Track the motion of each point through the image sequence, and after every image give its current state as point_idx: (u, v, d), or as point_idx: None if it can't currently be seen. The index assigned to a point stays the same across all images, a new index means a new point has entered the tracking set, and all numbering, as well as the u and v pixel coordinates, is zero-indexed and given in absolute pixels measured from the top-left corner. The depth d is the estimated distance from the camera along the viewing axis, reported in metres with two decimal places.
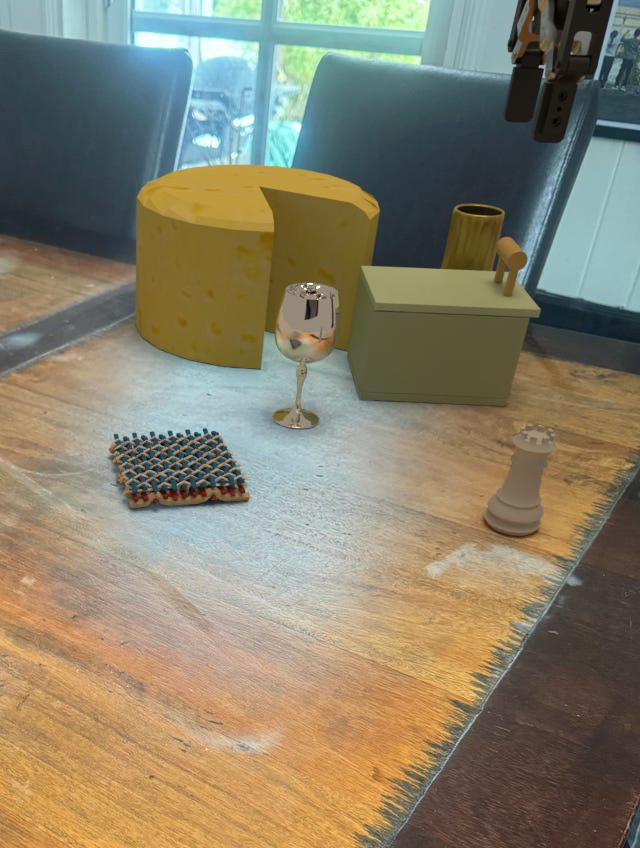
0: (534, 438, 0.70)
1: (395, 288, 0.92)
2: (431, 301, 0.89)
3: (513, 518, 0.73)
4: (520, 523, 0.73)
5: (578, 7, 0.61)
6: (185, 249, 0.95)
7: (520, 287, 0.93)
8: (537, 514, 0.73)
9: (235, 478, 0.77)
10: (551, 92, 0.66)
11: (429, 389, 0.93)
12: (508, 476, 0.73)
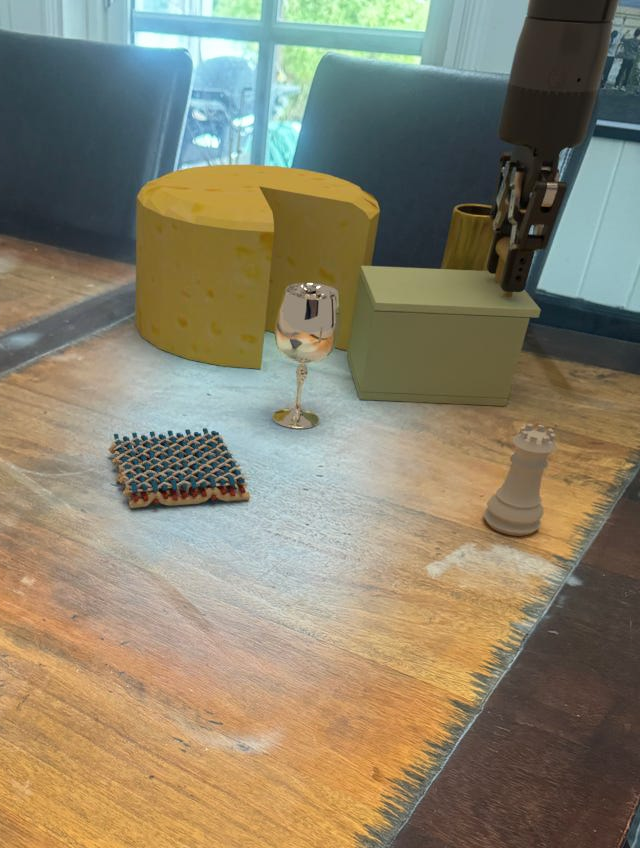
0: (533, 438, 0.70)
1: (395, 288, 0.92)
2: (431, 301, 0.89)
3: (513, 518, 0.73)
4: (520, 523, 0.73)
5: (534, 209, 0.82)
6: (185, 249, 0.95)
7: None
8: (537, 514, 0.73)
9: (235, 478, 0.77)
10: (514, 257, 0.87)
11: (429, 389, 0.93)
12: (508, 476, 0.73)
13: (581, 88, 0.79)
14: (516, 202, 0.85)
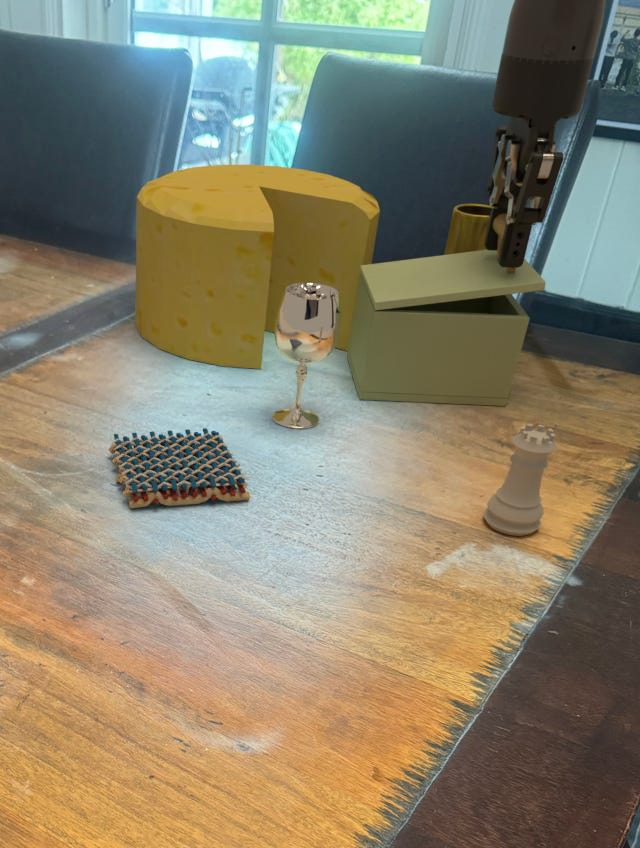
0: (533, 438, 0.70)
1: (395, 284, 0.91)
2: (432, 291, 0.88)
3: (513, 518, 0.73)
4: (520, 523, 0.73)
5: (530, 181, 0.81)
6: (185, 249, 0.95)
7: (524, 261, 0.91)
8: (537, 514, 0.73)
9: (235, 478, 0.77)
10: (511, 231, 0.86)
11: (429, 389, 0.93)
12: (508, 476, 0.73)
13: (576, 56, 0.78)
14: (512, 175, 0.84)
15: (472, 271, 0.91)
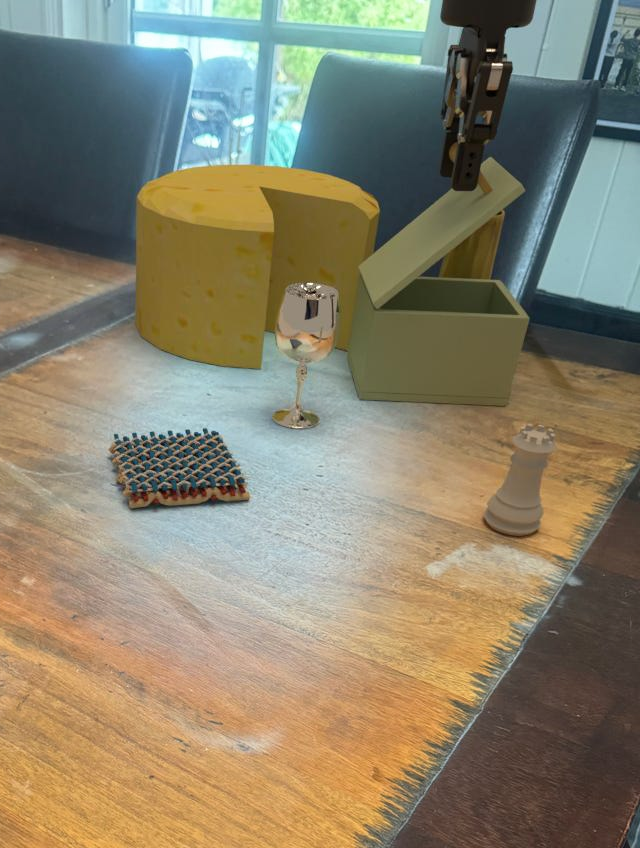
0: (533, 438, 0.70)
1: (388, 270, 0.91)
2: (420, 260, 0.87)
3: (513, 518, 0.73)
4: (520, 523, 0.73)
5: (479, 93, 0.77)
6: (185, 249, 0.95)
7: (500, 170, 0.87)
8: (537, 514, 0.73)
9: (235, 478, 0.77)
10: (463, 152, 0.82)
11: (429, 389, 0.93)
12: (508, 476, 0.73)
13: None
14: (462, 91, 0.80)
15: (454, 212, 0.88)
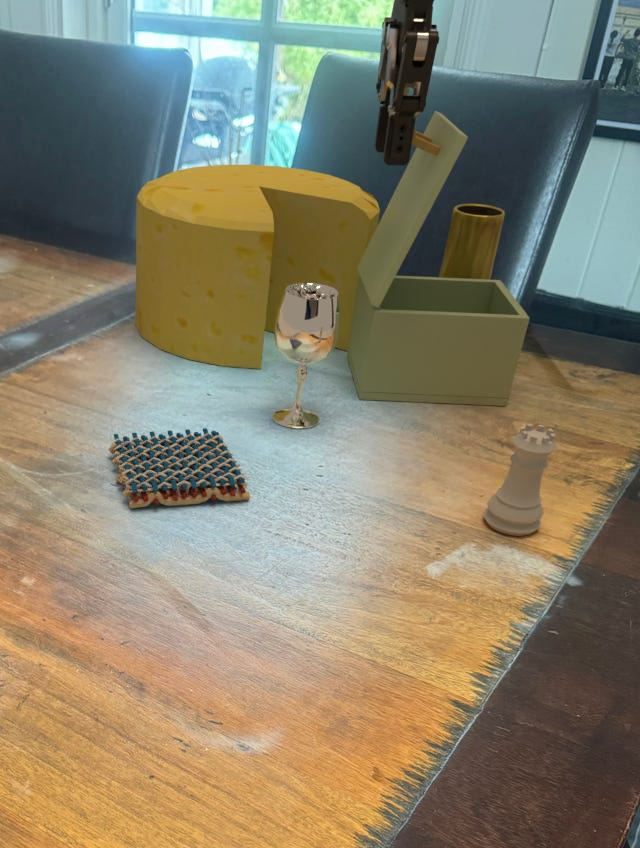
0: (533, 438, 0.70)
1: (378, 264, 0.90)
2: (398, 245, 0.86)
3: (513, 518, 0.73)
4: (520, 523, 0.73)
5: (406, 64, 0.76)
6: (185, 249, 0.95)
7: (443, 123, 0.84)
8: (537, 514, 0.73)
9: (235, 478, 0.77)
10: (394, 124, 0.81)
11: (429, 389, 0.93)
12: (508, 476, 0.73)
13: None
14: (392, 62, 0.79)
15: (416, 184, 0.87)
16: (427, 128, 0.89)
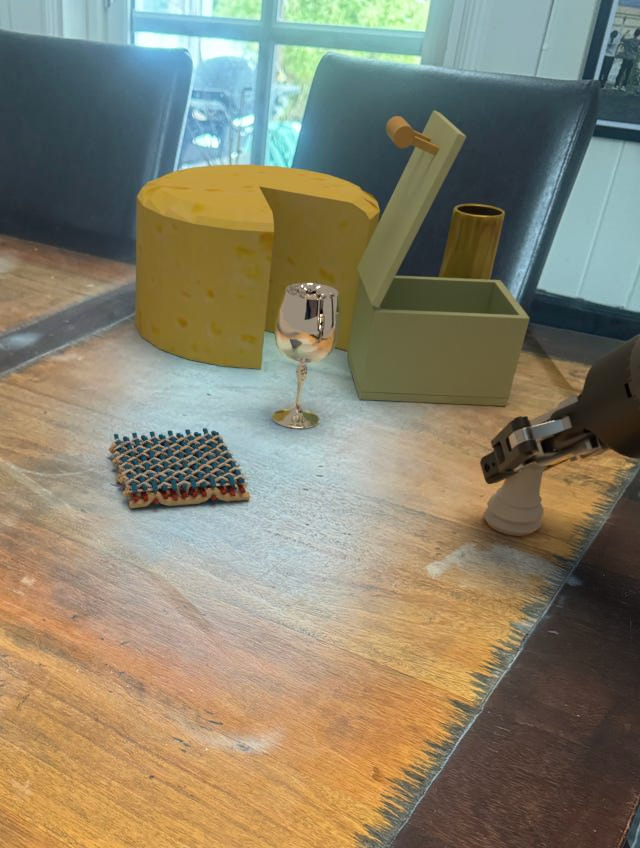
0: None
1: (377, 264, 0.90)
2: (398, 245, 0.86)
3: (513, 518, 0.73)
4: (520, 523, 0.73)
5: None
6: (185, 249, 0.95)
7: (442, 123, 0.84)
8: (537, 514, 0.73)
9: (235, 478, 0.77)
10: None
11: (429, 389, 0.93)
12: None
13: None
14: None
15: (415, 183, 0.87)
16: (426, 127, 0.89)
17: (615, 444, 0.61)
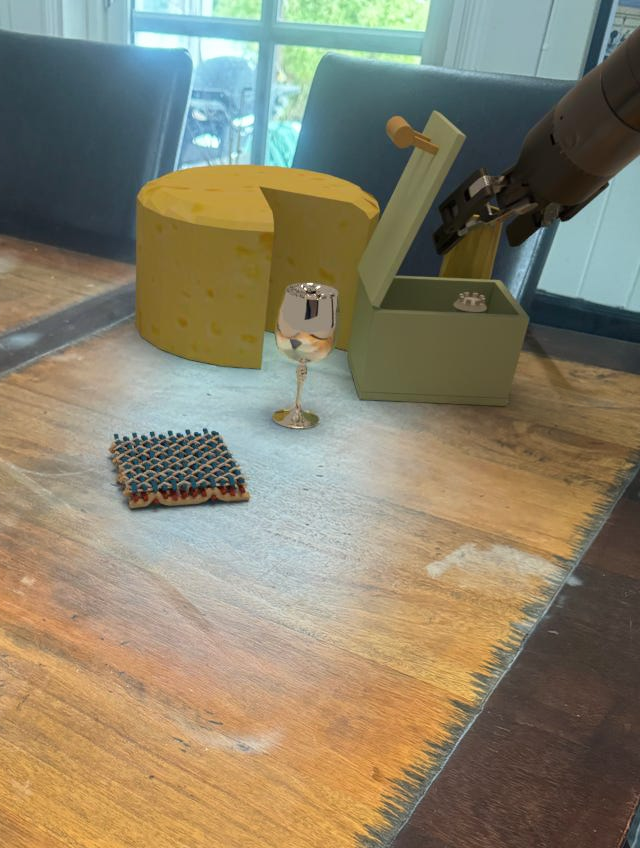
0: (468, 300, 0.92)
1: (377, 264, 0.90)
2: (398, 245, 0.86)
3: None
4: None
5: None
6: (185, 249, 0.95)
7: (442, 123, 0.84)
8: None
9: (235, 478, 0.77)
10: None
11: (429, 389, 0.93)
12: None
13: None
14: None
15: (415, 183, 0.87)
16: (426, 127, 0.89)
17: (545, 191, 0.78)
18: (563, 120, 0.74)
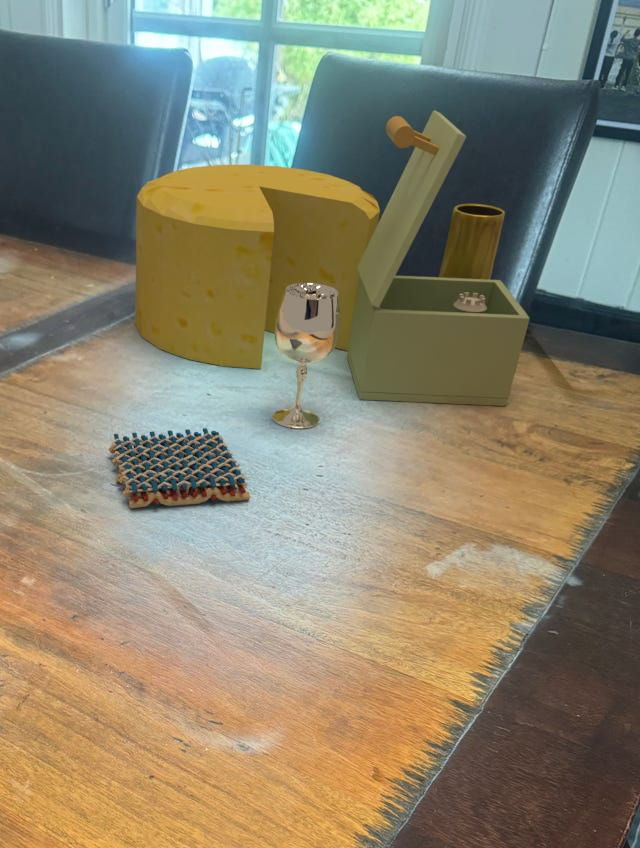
0: (468, 300, 0.92)
1: (377, 264, 0.90)
2: (398, 245, 0.86)
3: None
4: None
5: None
6: (185, 249, 0.95)
7: (442, 123, 0.84)
8: None
9: (235, 478, 0.77)
10: None
11: (429, 389, 0.93)
12: None
13: None
14: None
15: (415, 183, 0.87)
16: (426, 127, 0.89)
17: None
18: None
